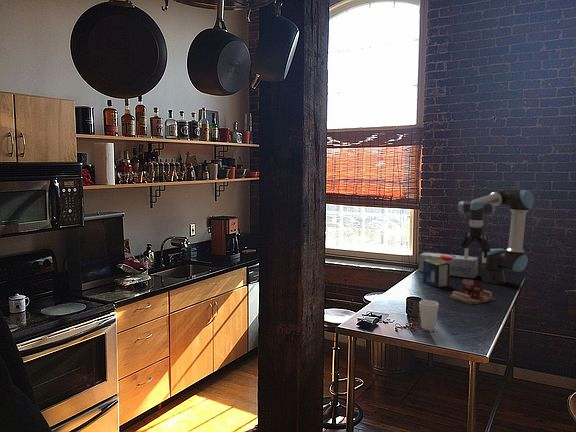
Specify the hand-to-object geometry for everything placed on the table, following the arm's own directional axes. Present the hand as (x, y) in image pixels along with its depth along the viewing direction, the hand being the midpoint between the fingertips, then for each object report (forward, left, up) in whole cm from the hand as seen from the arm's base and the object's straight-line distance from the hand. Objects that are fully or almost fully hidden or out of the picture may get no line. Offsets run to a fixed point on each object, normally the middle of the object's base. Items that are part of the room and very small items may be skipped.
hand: (474, 260), depth 297 cm
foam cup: (+65, +30, -23) cm, 75 cm away
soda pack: (-32, -53, -23) cm, 66 cm away
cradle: (+5, +3, -23) cm, 23 cm away
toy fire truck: (+5, +3, -21) cm, 22 cm away
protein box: (-1, -34, -23) cm, 41 cm away
